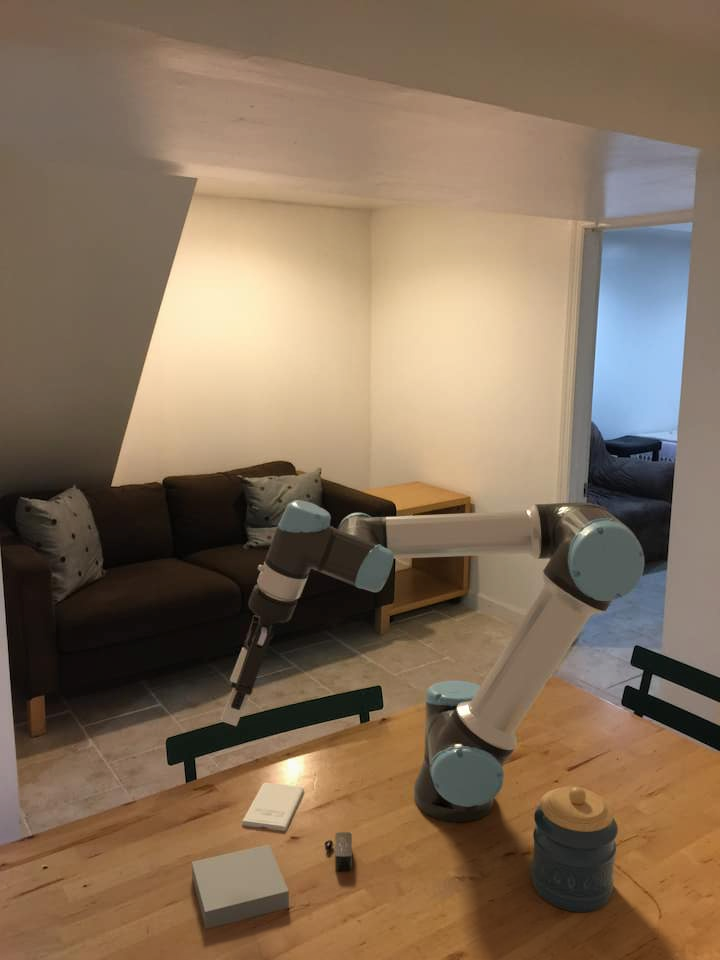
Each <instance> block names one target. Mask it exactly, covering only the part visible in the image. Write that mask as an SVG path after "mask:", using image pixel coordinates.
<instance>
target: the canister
mask: <svg viewBox="0 0 720 960" xmlns="http://www.w3.org/2000/svg"><path fill="white" fill-rule="evenodd" d="M533 819H534V823H535V827H534V829H533V834H532V836H533V846H532V847H533V849H532V850H533V851H532V861H531V863H530V864H531V865H530V874H531V875H530V876H531V880H532V886H533V888H534V889H535V891H536V892H537V894H538V895H539V896H540V897H541V898H542V899H543V900H545V901H546V902H547V903H549V904H551V905H552V906H555V907H557V908H558V909H562V910H565V911H569V912H577V913H585V912H587V913H588V912H592V911H596V910H598V909H601V908H603V907H604V906H605V905H606V904H608V902H609V900H610V898H611V895H612V893H613V888H614V883H615V882H614V866H615V865H614V864H615V855H616V851H617V844H616V841H615V839H616V838H617V836H618V833H619V832H618V831H619V826H618V823H617V821H616V819H615V817H614V810H613V808H612V806H611V804H609V803H608V801H607V800H606V799H605V798H603V797H601V796H600V795H598V794H596V792H593V791H591V790H589V789H586V788H583V787H580V786H563V787H558V788H554V789H551V790H550V791H548V792H546V793H545V794H543V796H542V797H541V799H540V804H539V805H538V806H537V807H536V809H535V810H534V816H533Z"/></svg>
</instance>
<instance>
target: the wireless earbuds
mask: <svg viewBox="0 0 720 960" xmlns="http://www.w3.org/2000/svg"><path fill="white" fill-rule="evenodd" d="M352 835H353V834H352V833H351V832H348V831H347V832H346V831H345V832H336V833H335V837H334V839H335V840H334V841H335V842H333V841H332V840H331V839H329V840H327V841H325V842H324V848H325V851H326V852H330V851H332V849H333V847H335V849H334V862H335V863H334V869H335V871H336V872H337V873H349V872H351V871H352V869H353V863H352V862H353V844H352V843H353V842H352V841H353V839H352V838H353V837H352ZM334 843H335V844H334ZM334 845H335V846H334Z"/></svg>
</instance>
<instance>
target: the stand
mask: <svg viewBox="0 0 720 960" xmlns="http://www.w3.org/2000/svg"><path fill="white" fill-rule="evenodd" d="M191 878H192V882H193V883H192V884H193V886H194V890H195V893H196V898H197V901H198V905H199V908H200V913H201V916H202V920H203V923H204V929H205V930H207V929H208V930H209V929H211V928H215V927H219V926H223V925H226V924H231V923H234V922H239V921H242V920H246V919H250V918H253V917H254V918H255V917H258V916H263V915H266V914H270V913H273V912H277V911H280V910H285V909H289V908H290V896H289V895H290V891H289V888H288V886H287V883H286V882H285V878H284V876H283V874H282V871H281V870H280V867H279V864H278V862H277V859H276V857H275V855H274V853H273V850H272V848H271V846H270V843H269V844H264V845H261V846H256V847H251V848H247V849H242V850H239V851H233V852H228V853H225V854H220V855H215V856H211V857H207V858H202V859H199V860H194V861H193V860H192V861H191Z"/></svg>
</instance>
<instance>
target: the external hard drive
mask: <svg viewBox="0 0 720 960" xmlns="http://www.w3.org/2000/svg"><path fill="white" fill-rule="evenodd" d="M304 792H305V788H304V787H302V786H297V785H296V786H295V785H289V784H280V783H273V782H263V783H262V785H261V787H260V788H259V791H258V792H257V794H256V796H255V797H254V799H253V802H252V803H251V804H250V807H249V808H248V810H247V812H246V814H245V816H244V817H243V819H242V821H241V825H242V826H244V827H245V826H246V827H254V828H259V829H260V828H264V829H265V828H266V829H268V830H275V831H282V832H286V831H287V829H288V827H289V825H290V822H291V820H292V818H293V816H294V814H295V812H296V810H297V807H298V805H299V803H300V801H301V799H302V796H303V795H304Z"/></svg>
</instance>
